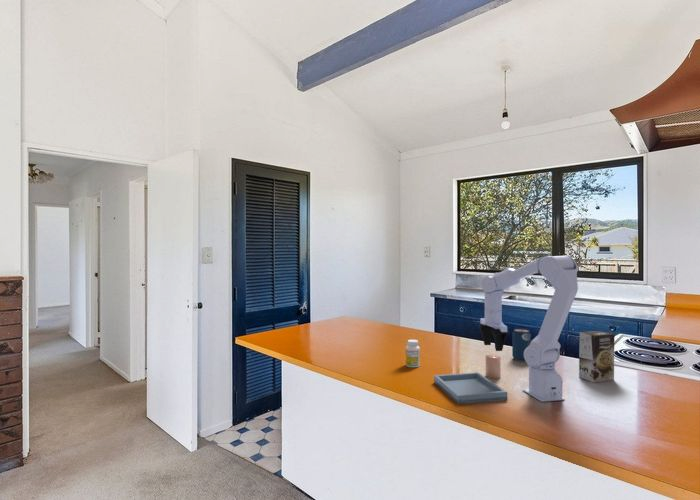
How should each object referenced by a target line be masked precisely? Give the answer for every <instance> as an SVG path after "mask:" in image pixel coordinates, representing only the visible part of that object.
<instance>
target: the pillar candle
mask: <svg viewBox="0 0 700 500" xmlns="http://www.w3.org/2000/svg"><path fill="white" fill-rule="evenodd" d="M501 359H502V358H501V356H499V355H496V354H486V355H485V378H487V379H493V380H495V379H496V380H497V379H501V377H502V375H501V374H502V373H501Z"/></svg>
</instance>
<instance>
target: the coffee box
mask: <svg viewBox="0 0 700 500" xmlns="http://www.w3.org/2000/svg"><path fill="white" fill-rule="evenodd" d="M578 345H579V350H578V353H579V355H578V356H579V357H578V377H579V378H582V379H583V380H586V381H587V382H588V381H589V382H591V383H594V384H595V383H601V382H611V381H614V380H615V333H611V332H606V331H602V330H601V331H600V330H594V331H593V330H592V331H589V330H588V331H580V332H579V344H578Z"/></svg>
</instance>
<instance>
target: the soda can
mask: <svg viewBox="0 0 700 500" xmlns="http://www.w3.org/2000/svg"><path fill="white" fill-rule="evenodd" d="M511 341H512V342H511V343H512V344H511V345H512V349H511V350H512V351H511V353H512V358H513V359H514V360H515V361H517V362H525V363H527V362H526V361H525V359H524V350H525V349H526V348H527V347H528V346H529V345H530V343H531V341H532V335H531V332H530V330H529V329H526V328H514V329H513V332H512V340H511Z"/></svg>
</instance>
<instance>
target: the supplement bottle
mask: <svg viewBox="0 0 700 500" xmlns="http://www.w3.org/2000/svg"><path fill="white" fill-rule="evenodd" d="M420 350H421V348H420V346H419V340H418V339H408V340H407V345H406V346H405V365H406V367H408V368H419V367H420V366H421V351H420Z"/></svg>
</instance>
